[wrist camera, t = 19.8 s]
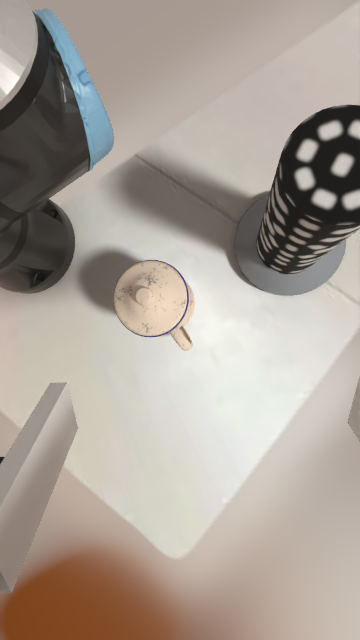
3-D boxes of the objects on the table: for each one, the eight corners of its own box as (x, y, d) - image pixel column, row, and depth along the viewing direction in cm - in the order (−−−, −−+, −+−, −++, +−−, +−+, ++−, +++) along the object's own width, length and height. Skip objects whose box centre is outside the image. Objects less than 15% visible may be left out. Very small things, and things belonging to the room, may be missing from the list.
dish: (225, 286, 44) (225, 285, 42) (245, 188, 44) (246, 183, 42) (330, 305, 42) (334, 304, 40) (351, 201, 41) (355, 196, 40)
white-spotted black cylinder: (274, 201, 42) (314, 87, 22) (334, 227, 40) (433, 131, 21) (245, 257, 42) (258, 195, 22) (303, 285, 41) (371, 245, 21)
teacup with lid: (123, 296, 46) (87, 285, 35) (173, 259, 45) (153, 236, 34) (168, 364, 45) (146, 377, 33) (220, 328, 44) (217, 329, 32)
